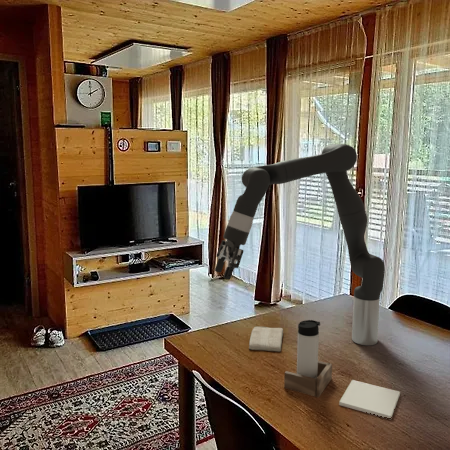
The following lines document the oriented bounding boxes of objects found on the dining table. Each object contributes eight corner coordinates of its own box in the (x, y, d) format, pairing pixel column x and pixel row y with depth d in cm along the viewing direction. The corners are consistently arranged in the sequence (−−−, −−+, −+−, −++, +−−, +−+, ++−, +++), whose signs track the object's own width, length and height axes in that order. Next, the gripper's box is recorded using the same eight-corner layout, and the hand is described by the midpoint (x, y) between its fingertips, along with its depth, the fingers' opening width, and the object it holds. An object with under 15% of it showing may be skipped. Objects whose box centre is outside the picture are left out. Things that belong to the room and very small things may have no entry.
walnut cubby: (299, 370, 148) (299, 356, 147) (331, 378, 143) (332, 364, 142) (284, 387, 138) (284, 372, 137) (318, 397, 132) (319, 381, 132)
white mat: (352, 382, 141) (352, 379, 140) (399, 394, 134) (400, 391, 133) (339, 404, 129) (339, 401, 128) (390, 419, 122) (391, 416, 121)
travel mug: (318, 389, 137) (320, 326, 133) (296, 387, 138) (297, 325, 135) (318, 379, 143) (320, 318, 139) (297, 377, 144) (298, 317, 141)
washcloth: (283, 333, 179) (283, 325, 178) (281, 353, 162) (281, 345, 161) (253, 331, 181) (253, 323, 180) (248, 351, 163) (248, 343, 163)
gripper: (257, 235, 140) (240, 284, 141) (240, 227, 153) (224, 272, 154) (236, 228, 137) (218, 278, 138) (221, 220, 151) (204, 266, 151)
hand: (221, 275), depth 146 cm, fingers open, 8 cm apart
